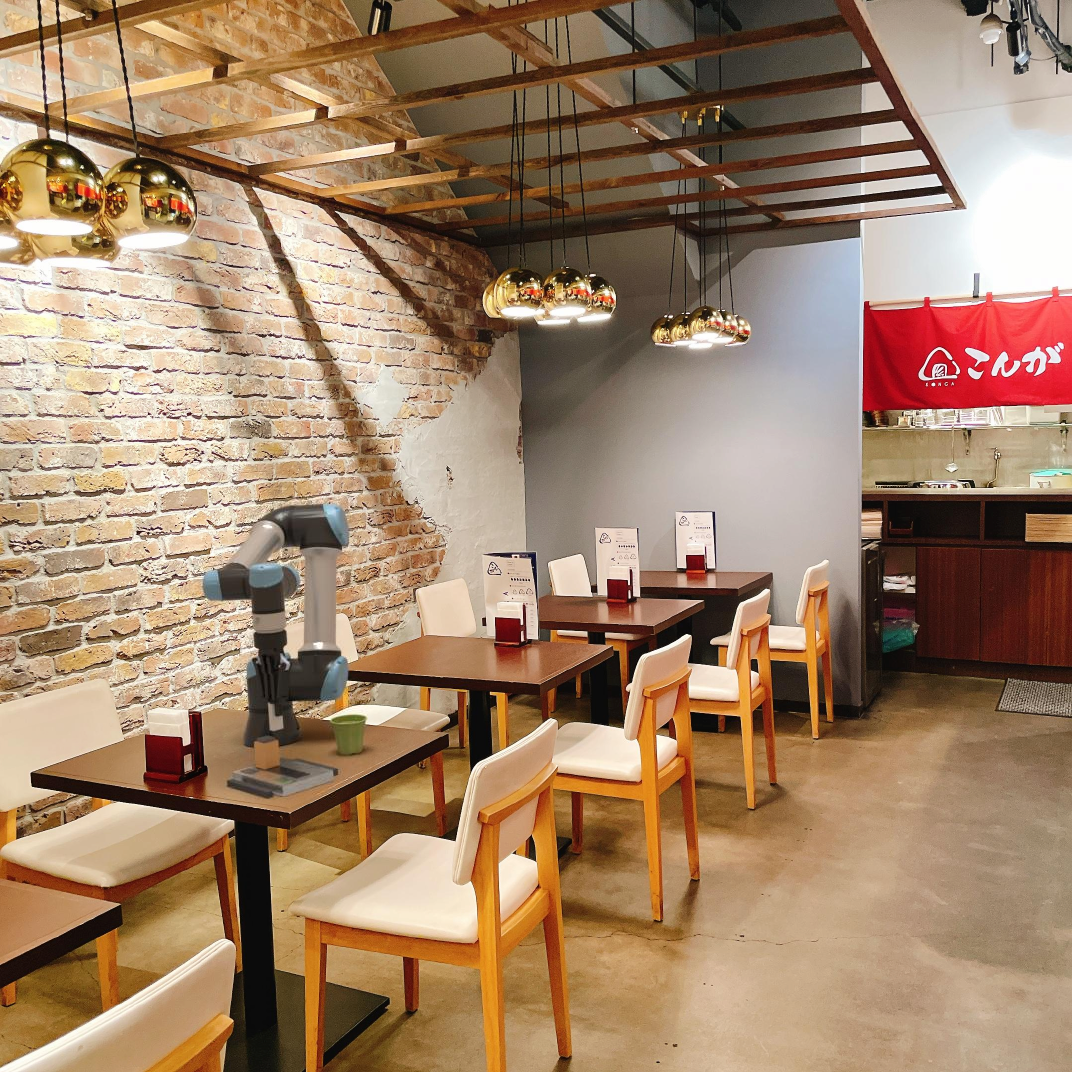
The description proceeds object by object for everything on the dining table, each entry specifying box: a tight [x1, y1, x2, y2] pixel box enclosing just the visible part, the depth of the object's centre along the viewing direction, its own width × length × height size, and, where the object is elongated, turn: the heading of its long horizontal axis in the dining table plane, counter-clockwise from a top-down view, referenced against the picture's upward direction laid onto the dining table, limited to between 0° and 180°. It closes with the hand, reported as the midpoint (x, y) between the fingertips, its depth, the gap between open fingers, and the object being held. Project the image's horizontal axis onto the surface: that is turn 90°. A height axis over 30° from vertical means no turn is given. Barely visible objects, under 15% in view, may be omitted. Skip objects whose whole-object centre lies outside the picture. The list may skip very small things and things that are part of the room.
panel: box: [231, 756, 335, 798], centre depth 235 cm, size 20×14×3 cm
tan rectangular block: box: [253, 736, 280, 769], centre depth 238 cm, size 4×4×7 cm
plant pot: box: [329, 713, 368, 756], centre depth 257 cm, size 9×9×9 cm
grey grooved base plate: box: [226, 758, 339, 799], centre depth 235 cm, size 17×20×1 cm
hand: (276, 729), depth 235 cm, fingers closed
